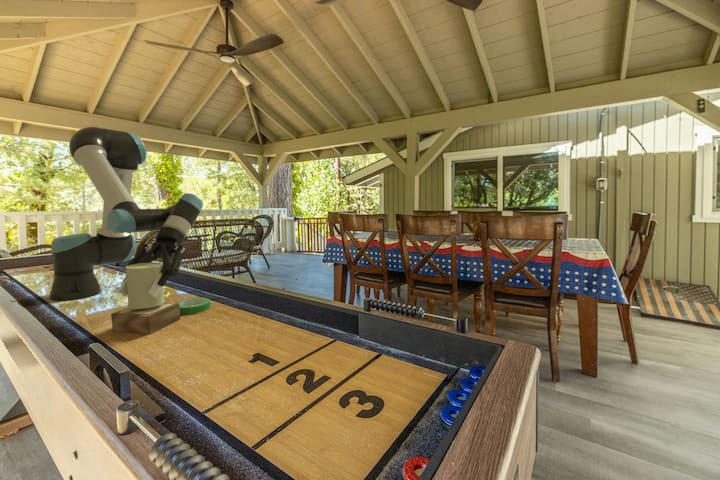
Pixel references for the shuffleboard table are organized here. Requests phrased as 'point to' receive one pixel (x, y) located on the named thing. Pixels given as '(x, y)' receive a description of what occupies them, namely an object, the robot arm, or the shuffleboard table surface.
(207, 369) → the shuffleboard table surface
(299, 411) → the shuffleboard table surface
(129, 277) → the can
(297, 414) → the shuffleboard table surface
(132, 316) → the plinth
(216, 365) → the shuffleboard table surface
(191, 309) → the tape roll
